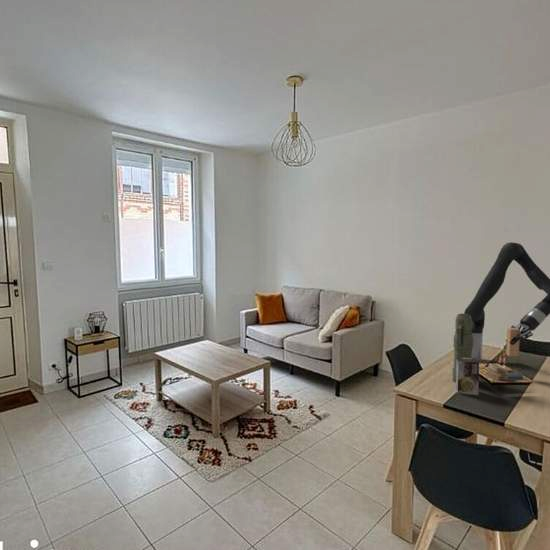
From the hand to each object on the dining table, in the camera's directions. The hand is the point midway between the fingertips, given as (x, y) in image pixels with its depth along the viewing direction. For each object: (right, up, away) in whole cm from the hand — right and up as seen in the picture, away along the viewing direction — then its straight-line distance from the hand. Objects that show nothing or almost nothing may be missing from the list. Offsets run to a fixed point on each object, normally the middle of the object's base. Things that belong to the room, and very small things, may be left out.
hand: (509, 343), depth 188 cm
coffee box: (-29, -21, -13) cm, 38 cm away
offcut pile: (-5, -18, +1) cm, 19 cm away
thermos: (-25, -20, 0) cm, 32 cm away
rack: (-1, -19, +2) cm, 19 cm away
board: (+2, -7, +1) cm, 7 cm away
